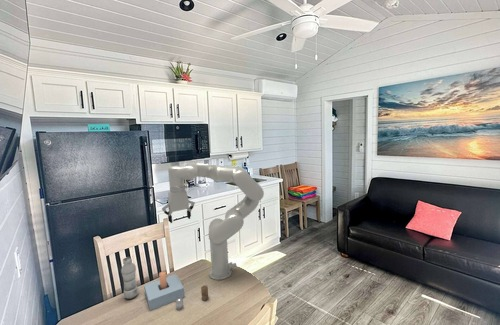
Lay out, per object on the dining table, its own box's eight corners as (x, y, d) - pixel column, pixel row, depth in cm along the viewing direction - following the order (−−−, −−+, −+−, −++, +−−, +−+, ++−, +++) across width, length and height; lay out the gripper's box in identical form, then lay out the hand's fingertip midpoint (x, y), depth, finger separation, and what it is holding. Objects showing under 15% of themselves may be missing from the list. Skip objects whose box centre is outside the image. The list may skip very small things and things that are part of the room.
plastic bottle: (121, 298, 122) (116, 260, 119) (133, 290, 128) (128, 254, 125) (129, 302, 119) (125, 263, 116) (141, 293, 125) (137, 256, 122)
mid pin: (207, 295, 122) (206, 284, 121) (209, 299, 119) (208, 287, 118) (200, 298, 120) (200, 286, 119) (203, 302, 117) (202, 290, 116)
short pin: (182, 304, 116) (181, 295, 116) (184, 308, 114) (183, 299, 113) (175, 307, 115) (174, 298, 114) (177, 311, 112) (176, 302, 111)
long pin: (167, 292, 125) (165, 270, 124) (168, 296, 123) (166, 273, 121) (160, 295, 124) (158, 272, 122) (162, 298, 121) (159, 275, 119)
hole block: (176, 282, 133) (176, 274, 132) (184, 297, 121) (183, 287, 121) (145, 293, 125) (144, 284, 124) (150, 310, 113) (148, 300, 112)
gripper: (191, 185, 138) (193, 214, 140) (158, 190, 129) (161, 221, 132) (195, 187, 132) (197, 218, 134) (162, 193, 123) (165, 226, 125)
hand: (180, 220), depth 133 cm, fingers open, 9 cm apart
